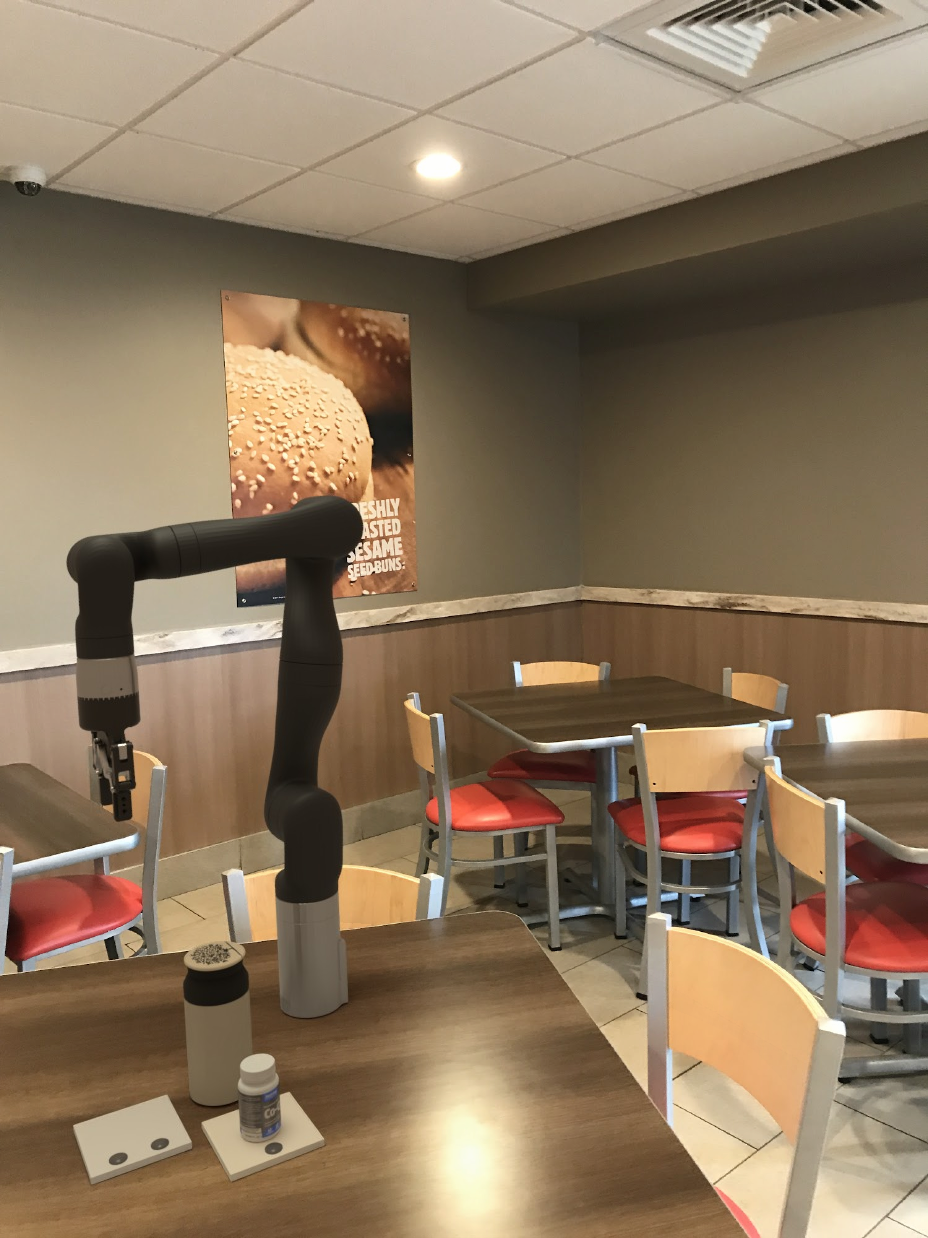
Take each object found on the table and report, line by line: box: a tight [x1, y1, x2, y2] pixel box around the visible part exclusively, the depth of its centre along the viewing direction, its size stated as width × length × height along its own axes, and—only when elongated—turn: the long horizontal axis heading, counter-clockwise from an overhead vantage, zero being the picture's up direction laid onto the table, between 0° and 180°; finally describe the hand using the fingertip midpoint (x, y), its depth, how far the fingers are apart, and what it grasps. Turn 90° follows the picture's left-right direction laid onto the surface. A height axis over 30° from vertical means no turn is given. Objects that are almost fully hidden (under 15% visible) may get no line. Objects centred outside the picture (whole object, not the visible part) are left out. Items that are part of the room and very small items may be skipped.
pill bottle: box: [237, 1053, 281, 1142], centre depth 112 cm, size 5×5×8 cm
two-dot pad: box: [72, 1094, 193, 1186], centre depth 112 cm, size 11×11×1 cm
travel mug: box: [182, 940, 254, 1107], centre depth 121 cm, size 8×8×18 cm
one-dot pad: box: [201, 1091, 325, 1183], centre depth 112 cm, size 11×11×1 cm
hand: (116, 812), depth 126 cm, fingers open, 8 cm apart
